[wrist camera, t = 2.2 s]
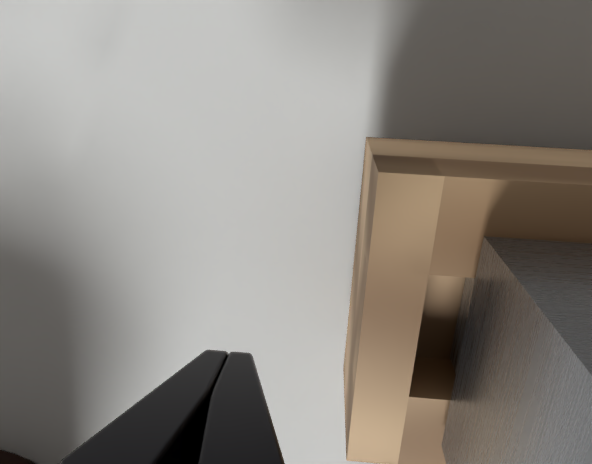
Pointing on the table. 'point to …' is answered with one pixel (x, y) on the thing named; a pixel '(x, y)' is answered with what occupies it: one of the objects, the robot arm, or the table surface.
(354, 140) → the table surface
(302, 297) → the table surface
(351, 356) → the light wood rectangular frame
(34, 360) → the table surface
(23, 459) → the coffee mug
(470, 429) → the grey block
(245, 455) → the robot arm
